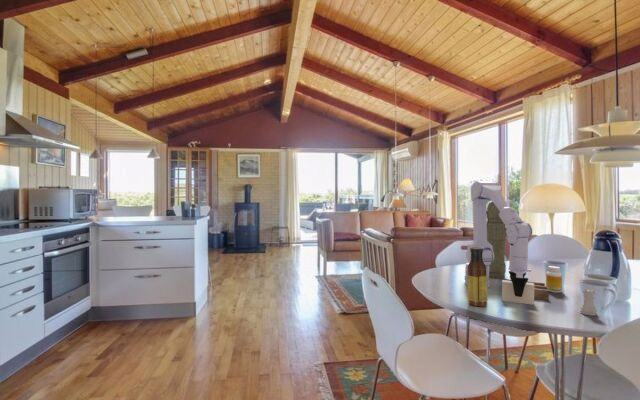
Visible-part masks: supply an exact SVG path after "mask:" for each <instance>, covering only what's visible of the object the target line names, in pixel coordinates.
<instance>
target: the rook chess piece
mask: <svg viewBox="0 0 640 400" xmlns="http://www.w3.org/2000/svg"><path fill="white" fill-rule="evenodd" d="M582 292H583V294H584V295H583V297H584V298H583V304H582V306H580V313H581V314H582V315H585V316H590V317H596V316H597V315H598V310H597V308H596V306H595V300H594V299H595V297H594V296H595V295H596V292H595V290H594V289H592V288H584V289H583V290H582Z"/></svg>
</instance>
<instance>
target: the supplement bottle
mask: <svg viewBox="0 0 640 400" xmlns="http://www.w3.org/2000/svg"><path fill="white" fill-rule="evenodd" d="M547 270H548V271H546V272H545V286H547V290H549V293H554V294H555V293H556V294H557V293H562V286H563V285H562V284H563V281H562V280H563V274H562V273H561V267H560V266H554V265H548V266H547Z"/></svg>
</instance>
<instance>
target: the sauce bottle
mask: <svg viewBox="0 0 640 400" xmlns="http://www.w3.org/2000/svg"><path fill="white" fill-rule="evenodd" d="M470 252H471V261H470V263H469V262H468V263H469V264H468V274H467V282H468V285H467V302H468V304H469V305H471V306H472V307H473V306H474V307H478V308H480V307H486V306H487V305H488V287H487V275H486V266H485V264H484V262H483V259H482V253H483V248H479V247H471V248H470Z"/></svg>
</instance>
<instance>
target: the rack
mask: <svg viewBox="0 0 640 400" xmlns="http://www.w3.org/2000/svg"><path fill="white" fill-rule="evenodd" d="M502 280H508V281H511V279H510V278H504V279H501V281H502ZM527 283H534V299H536V300H545V301H549V300H550V291H549V290H547V286H546V282H536V281H529V280H528V281H527Z"/></svg>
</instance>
